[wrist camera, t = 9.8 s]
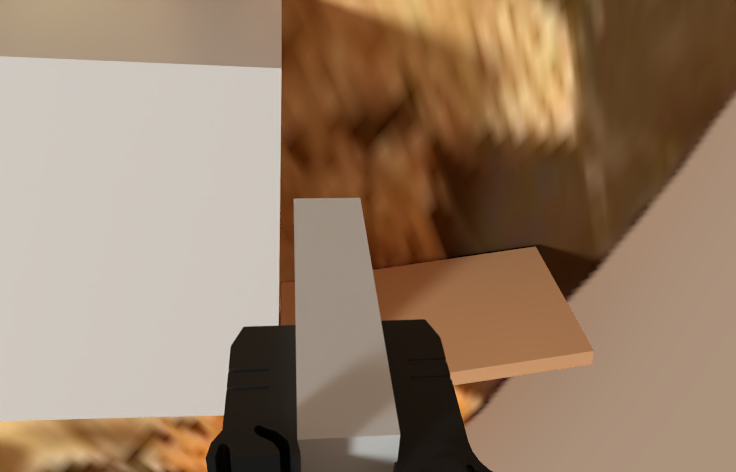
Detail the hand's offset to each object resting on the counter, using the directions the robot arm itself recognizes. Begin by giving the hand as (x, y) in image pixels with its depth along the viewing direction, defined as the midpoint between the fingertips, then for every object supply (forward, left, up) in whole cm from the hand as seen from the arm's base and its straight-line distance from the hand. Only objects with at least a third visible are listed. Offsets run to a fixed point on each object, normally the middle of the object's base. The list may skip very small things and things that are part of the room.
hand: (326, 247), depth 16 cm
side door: (+18, +8, -22) cm, 29 cm away
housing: (+8, -9, -23) cm, 26 cm away
